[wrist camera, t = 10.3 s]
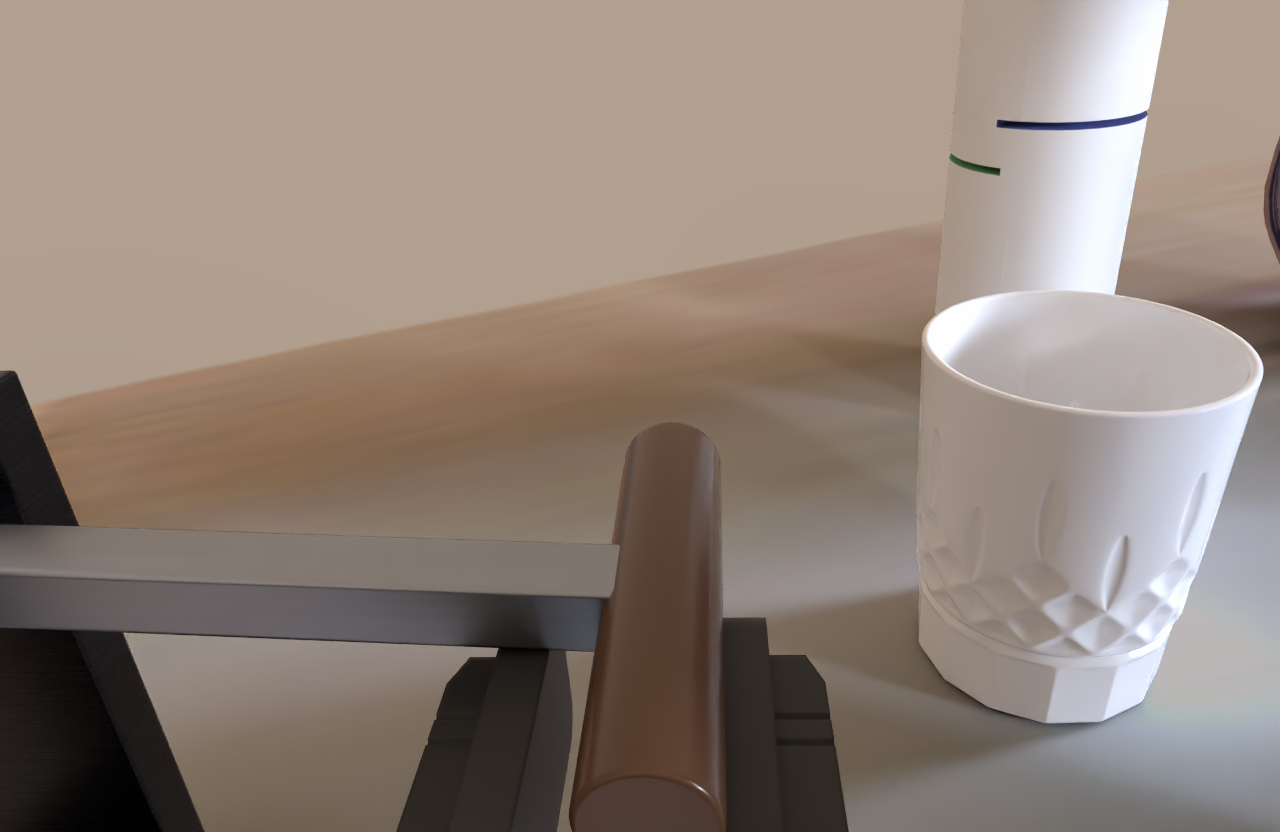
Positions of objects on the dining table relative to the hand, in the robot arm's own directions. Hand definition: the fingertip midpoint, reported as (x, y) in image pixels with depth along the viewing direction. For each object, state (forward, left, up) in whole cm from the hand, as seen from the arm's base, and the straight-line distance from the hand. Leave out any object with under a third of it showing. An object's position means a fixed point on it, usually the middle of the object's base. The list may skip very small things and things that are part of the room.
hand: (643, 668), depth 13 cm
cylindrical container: (-14, -30, -11) cm, 35 cm away
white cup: (-10, -13, -11) cm, 20 cm away
